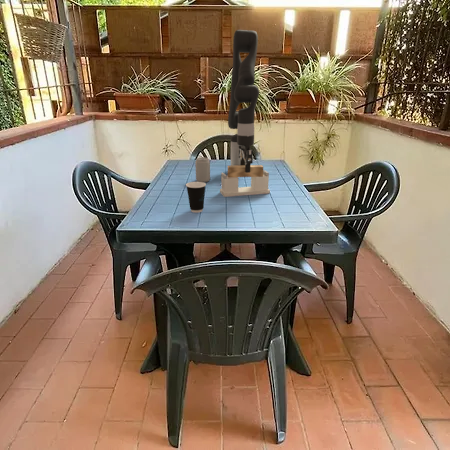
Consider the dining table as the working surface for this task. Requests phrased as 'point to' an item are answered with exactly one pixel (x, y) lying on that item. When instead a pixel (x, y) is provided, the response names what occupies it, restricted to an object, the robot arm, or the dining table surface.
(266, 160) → the dining table surface
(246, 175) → the bar
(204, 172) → the can
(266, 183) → the display stand
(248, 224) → the dining table surface
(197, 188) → the dixie cup
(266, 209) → the dining table surface
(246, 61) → the robot arm
